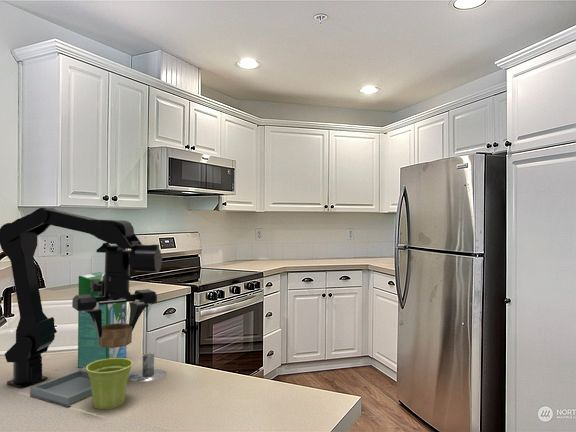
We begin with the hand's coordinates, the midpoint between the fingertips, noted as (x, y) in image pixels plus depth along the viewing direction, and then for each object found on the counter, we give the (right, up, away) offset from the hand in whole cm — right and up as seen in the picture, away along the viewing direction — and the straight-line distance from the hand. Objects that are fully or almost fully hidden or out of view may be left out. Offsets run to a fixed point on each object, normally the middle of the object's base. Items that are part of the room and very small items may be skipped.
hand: (115, 334), depth 103 cm
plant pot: (+4, -12, -12) cm, 18 cm away
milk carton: (-9, -12, +14) cm, 21 cm away
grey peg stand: (+7, -12, +4) cm, 14 cm away
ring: (-1, -2, +1) cm, 2 cm away
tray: (-7, -12, -5) cm, 15 cm away
